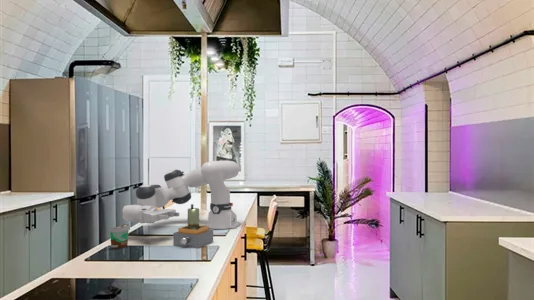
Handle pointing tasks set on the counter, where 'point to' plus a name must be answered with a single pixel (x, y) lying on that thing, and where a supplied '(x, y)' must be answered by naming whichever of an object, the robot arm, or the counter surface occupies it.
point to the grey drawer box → (193, 237)
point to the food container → (119, 236)
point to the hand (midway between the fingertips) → (173, 216)
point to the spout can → (193, 218)
